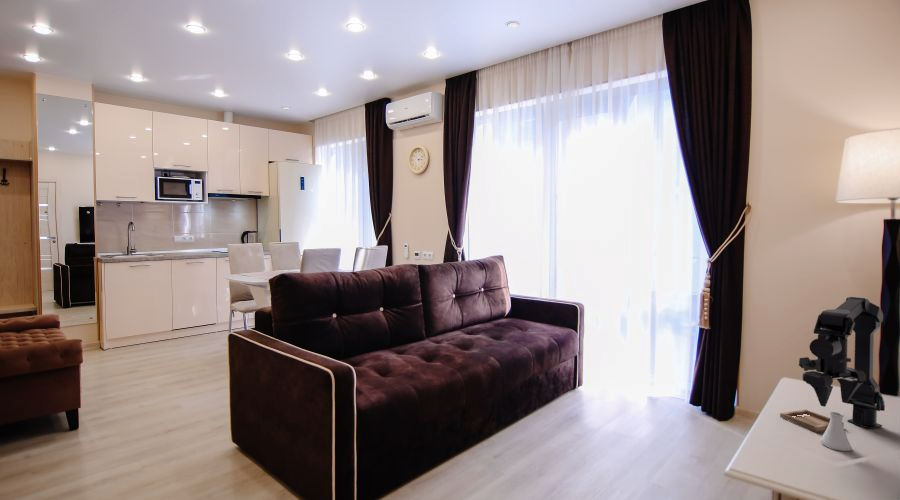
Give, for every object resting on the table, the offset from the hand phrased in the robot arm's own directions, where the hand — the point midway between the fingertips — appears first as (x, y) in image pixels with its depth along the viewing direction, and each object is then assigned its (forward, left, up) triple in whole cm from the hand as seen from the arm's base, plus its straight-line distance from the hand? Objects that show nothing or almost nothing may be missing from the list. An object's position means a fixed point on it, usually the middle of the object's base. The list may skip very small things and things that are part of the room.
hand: (833, 404), depth 136 cm
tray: (-10, -13, -13) cm, 21 cm away
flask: (0, +1, -13) cm, 13 cm away
